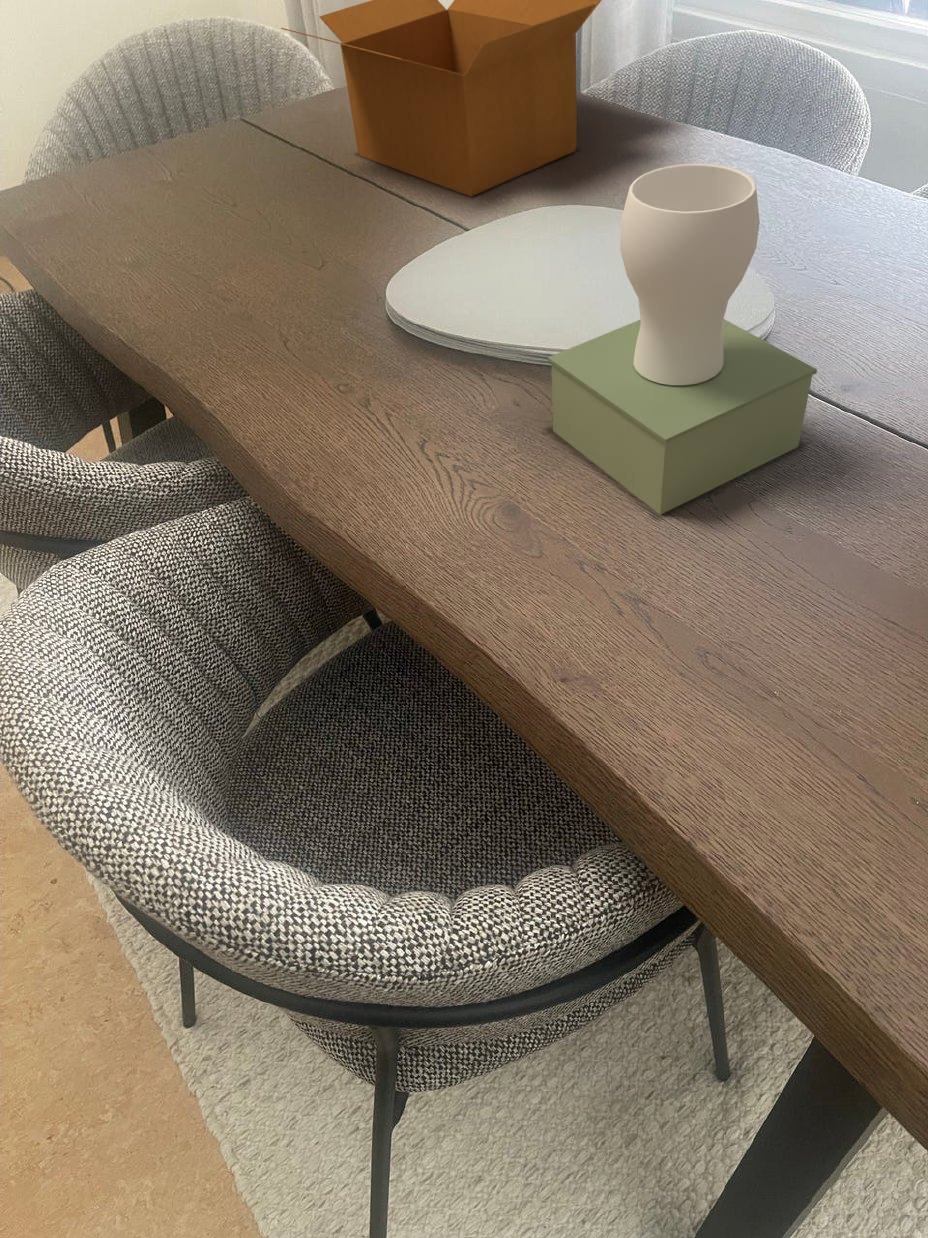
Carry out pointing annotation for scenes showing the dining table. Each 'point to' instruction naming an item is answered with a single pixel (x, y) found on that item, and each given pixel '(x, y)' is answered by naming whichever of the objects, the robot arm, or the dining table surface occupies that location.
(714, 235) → the cup
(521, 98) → the box
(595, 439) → the green flat-topped block
